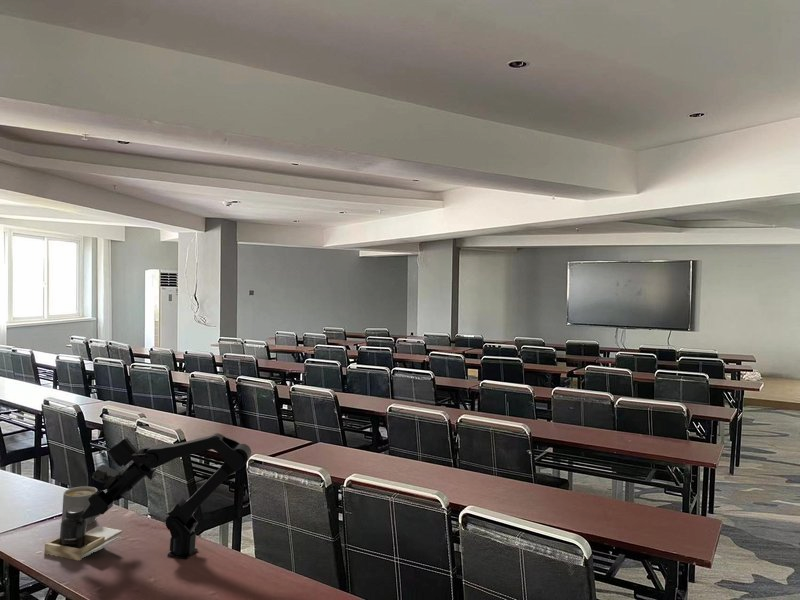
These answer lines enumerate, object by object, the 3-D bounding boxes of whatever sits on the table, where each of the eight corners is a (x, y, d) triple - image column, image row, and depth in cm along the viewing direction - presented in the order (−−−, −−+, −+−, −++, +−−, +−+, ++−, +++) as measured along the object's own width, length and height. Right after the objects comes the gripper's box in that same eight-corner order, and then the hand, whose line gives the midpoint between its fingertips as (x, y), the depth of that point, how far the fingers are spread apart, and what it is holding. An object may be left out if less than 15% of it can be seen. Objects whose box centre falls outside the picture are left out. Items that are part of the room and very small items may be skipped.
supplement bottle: (64, 557, 168) (67, 516, 168) (54, 549, 172) (57, 509, 172) (89, 549, 173) (91, 510, 173) (78, 542, 177) (81, 503, 177)
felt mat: (121, 531, 187) (122, 530, 187) (101, 542, 178) (101, 541, 178) (98, 527, 189) (98, 526, 189) (77, 538, 180) (77, 536, 180)
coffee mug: (54, 522, 190) (56, 492, 190) (82, 513, 199) (84, 484, 199) (82, 531, 185) (84, 500, 185) (109, 521, 194) (111, 492, 194)
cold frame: (104, 546, 176) (104, 536, 176) (79, 560, 166) (79, 550, 166) (70, 540, 178) (71, 530, 178) (44, 553, 169) (44, 543, 169)
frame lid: (121, 550, 174) (122, 535, 174) (100, 562, 165) (101, 546, 165) (100, 546, 175) (101, 531, 175) (79, 558, 167) (80, 542, 167)
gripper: (124, 449, 182) (86, 482, 182) (98, 466, 164) (54, 503, 163) (148, 475, 183) (109, 508, 182) (124, 495, 164) (81, 532, 164)
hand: (89, 512), depth 173 cm, fingers open, 9 cm apart
